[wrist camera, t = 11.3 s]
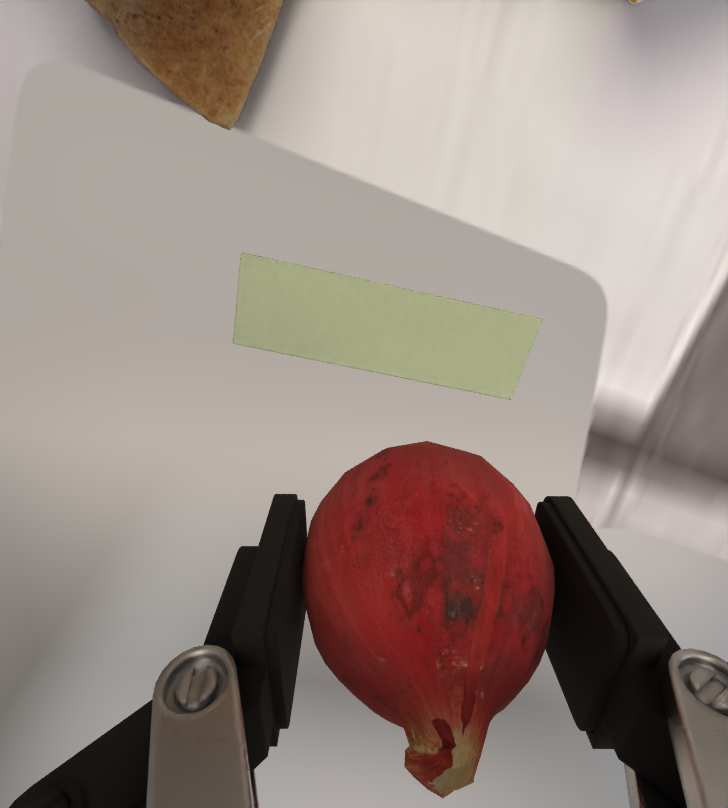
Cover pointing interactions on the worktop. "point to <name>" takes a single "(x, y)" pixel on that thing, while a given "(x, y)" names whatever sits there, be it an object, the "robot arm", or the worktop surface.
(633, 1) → the medicine bottle
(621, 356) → the worktop surface
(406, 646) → the pomegranate
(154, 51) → the stone cup
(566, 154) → the worktop surface
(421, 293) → the edge strip
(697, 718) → the robot arm
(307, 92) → the worktop surface
